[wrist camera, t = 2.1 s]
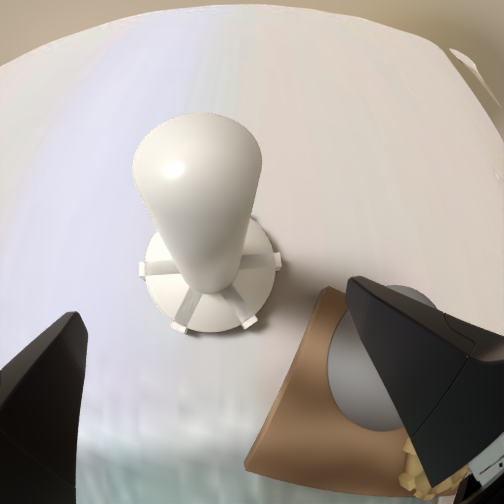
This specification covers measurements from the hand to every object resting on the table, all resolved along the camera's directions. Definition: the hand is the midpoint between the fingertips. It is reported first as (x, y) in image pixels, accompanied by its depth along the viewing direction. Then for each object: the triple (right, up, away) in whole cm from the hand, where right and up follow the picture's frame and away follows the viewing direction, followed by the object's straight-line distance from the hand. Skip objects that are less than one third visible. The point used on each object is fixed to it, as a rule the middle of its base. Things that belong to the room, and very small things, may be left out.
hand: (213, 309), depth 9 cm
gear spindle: (-2, +1, +12) cm, 12 cm away
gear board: (+14, -11, +10) cm, 20 cm away
